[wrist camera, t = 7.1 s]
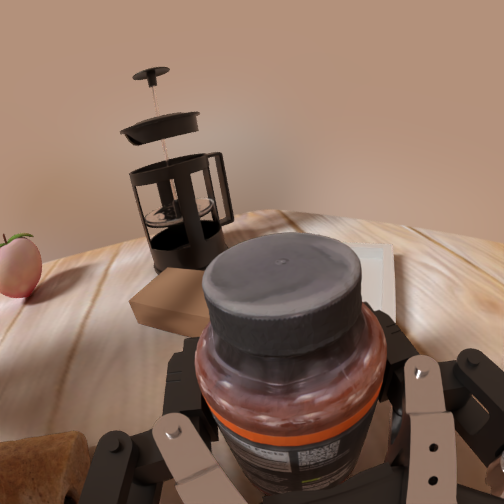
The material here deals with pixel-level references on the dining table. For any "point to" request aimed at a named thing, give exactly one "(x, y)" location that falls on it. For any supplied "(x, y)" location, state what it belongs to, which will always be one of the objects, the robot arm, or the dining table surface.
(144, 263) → the dining table surface
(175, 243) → the french press
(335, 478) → the supplement bottle
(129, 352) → the dining table surface
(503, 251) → the dining table surface
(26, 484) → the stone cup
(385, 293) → the tray
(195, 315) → the brown block
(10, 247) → the decorative fruit
